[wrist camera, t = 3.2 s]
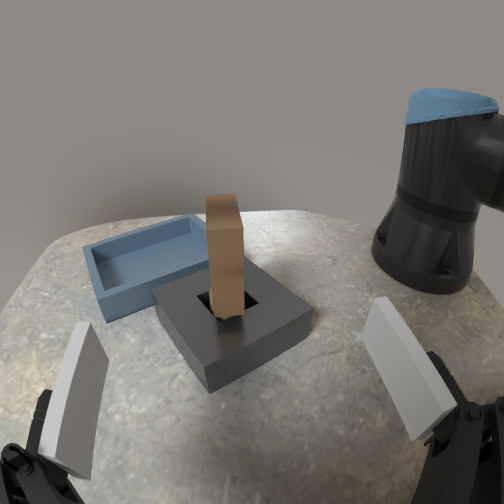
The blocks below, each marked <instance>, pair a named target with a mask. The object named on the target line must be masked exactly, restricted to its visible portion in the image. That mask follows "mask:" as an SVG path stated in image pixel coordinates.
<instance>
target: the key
mask: <svg viewBox="0 0 504 504" xmlns="http://www.w3.org/2000/svg"><path fill="white" fill-rule="evenodd" d="M206 235H207V247H208V259H209V270H210V280H211V287H210V289H209V296H210V305H211V314H212V315H213V316H214V317H215V318H216V319H217V320H218V322H221V321H223V320H225V319H227V318H229V317H231V316H235V315H245V311H244V240H243V224H242V220H241V217H240V213H239V209H238V205H237V201H236V198H235V194H219V195H218V194H217V195H206Z"/></svg>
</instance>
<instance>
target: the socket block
mask: <svg viewBox="0 0 504 504" xmlns="http://www.w3.org/2000/svg"><path fill="white" fill-rule="evenodd" d="M210 287H211V280H210V270H209V268H206V269H204V270H201V271H198V272H196V273H193V274H190V275H188V276H185V277H182V278H180V279H177V280H174V281H172V282H169V283H166V284H164V285H161V286H158V287H156V288H153V289H150V290H151V294H152V298H153V302H154V306H155V309H156V313H157V317H158V319H159V321H160V322H161V324H162V325H163V327H164V329H165V330H166V332H167V333H168V335H169V336H170V338H171V339H172V341H173V343H174V344H175V346H176V347H177V349H178V350H179V352H180V353H181V355H182V356H183V358H184V359H185V360H186V362H187V363H188V365H189V366H190V368H191V369H192V371H193V372H194V373H195V375H196V376H197V378H198V379H199V380H200V382H201V383H202V384H203V386H204V387H205V389H206V390H207V391H208V393H209V394H210V393H212V392H214V391H216V390H218V389H220V388H222V387H223V386H225V385H227V384H229V383H231V382H233V381H235V380H236V379H238V378H240V377H242V376H244V375H245V374H247V373H249V372H251V371H253V370H254V369H256V368H258V367H259V366H261V365H263V364H265V363H266V362H268V361H270V360H271V359H273V358H275V357H276V356H278V355H280V354H281V353H283V352H285V351H286V350H288V349H289V348H291V347H293V346H294V345H296V344H297V343H299V342H301V341H302V340H304V339H305V338H307V337H308V333H309V328H310V323H311V317H312V312H313V307H311V306H310V305H309V304H307V303H306V302H305V301H303V300H302V299H300V298H299V297H298V296H296V295H295V294H294V293H292V292H291V291H290V290H288V289H287V288H286V287H284V286H283V285H282V284H280V283H279V282H278V281H276V280H275V279H274V278H272V277H271V276H270V275H268V274H267V273H266V272H264V271H263V270H262V269H260V268H259V267H258V266H257V265H255V264H254V263H253V262H251V261H250V260H249V259H247V258H246V257H245V256H244V311H245V315H235V316H231V317H229V318H227V319H225V320H223V321H221V322H218V320H217V319H216V318H215V317H214V316H213V315H212V314H211V305H210V296H209V289H210Z"/></svg>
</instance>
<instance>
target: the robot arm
mask: <svg viewBox="0 0 504 504" xmlns="http://www.w3.org/2000/svg"><path fill="white" fill-rule="evenodd" d="M498 111H499V107H498V103H497V101H496V100H494V99H493V98H490V97H486V96H483V95H480V94H477V93H471V92H466V91H461V90H454V89H445V88H421V89H417V90H415V91H414V92H413V93H412V94H411V95H410V98H409V103H408V110H407V117H406V121H405V122H404V125H406V130H405V139H404V147H403V154H402V161H401V167H400V173H399V179H398V185H397V190H396V195H395V198H394V201H393V202H392V204H391V206H390V208H389V209H388V211H387V213H386V215H385V216H384V218H383V220H382V221H381V223H380V225H379V227H378V228H377V230H376V232H375V235H374V239H373V244H372V255H373V257H374V259H375V261H376V262H377V264H378V265H379V266H380V267H381V268H382V269H383V270H384V271H385V272H386V273H387V274H389V275H390V276H392V277H393V278H395V279H396V280H398V281H400V282H401V283H403V284H405V285H408V286H410V287H412V288H415V289H418V290H421V291H425V292H429V293H435V294H449V293H454V292H457V291H459V290H461V289H462V288H463V287H464V286H465V285H466V283H467V281H468V279H469V276H470V274H471V271H472V268H473V257H474V240H475V238H474V237H475V224H476V220H477V217H478V213H479V210H480V207H481V205H486V206H489V207H491V208H494V209H496V210H499V211H501V212H503V213H504V115H501V114H499V113H498ZM360 338H361V340H362V342H363V344H364V345H365V347H366V349H367V351H368V353H369V355H370V357H371V359H372V361H373V363H374V364H375V366H376V368H377V370H378V372H379V374H380V376H381V378H382V380H383V382H384V384H385V386H386V388H387V390H388V392H389V394H390V396H391V398H392V400H393V402H394V404H395V406H396V408H397V411H398V413H399V415H400V417H401V419H402V421H403V423H404V425H405V427H406V430H407V432H408V434H409V436H410V438H411V441H412V442H414V441H416V440H418V439H420V438H423V437H425V436H426V435H427V434H428V433H430V432H431V431H433V433H434V434H433V435H432V436H431V437H430V438H429V439H428V440H427V441H426V442H425V444H424V446H426V445H427V444H428V443H430V442H431V443H430V445H429V446H428V447H429V450H428V454H427V458H426V461H425V464H424V468H423V471H422V474H421V477H420V480H419V483H418V486H417V489H416V492H415V494H414V497H413V500H412V502H411V504H504V397H503V396H502V397H499V398H498V399H497V400H496V401H495V402H494V403H493V404H488V405H482V406H479V405H478V404H477V403H475V402H469V401H468V400H467V399H466V398H465V396H464V395H463V393H462V391H461V390H460V388H459V386H458V385H457V383H456V381H455V380H454V378H453V377H452V375H450V372H449V370H448V369H447V368H446V366H445V364H444V363H443V361H442V360H441V358H440V357H439V356H437V355H436V354H435V353H434V352H433V351H430V352H427V353H426V352H425V351H424V349H423V348H422V346H421V345H420V343H419V342H418V340H417V339H416V337H415V336H414V334H413V333H412V331H411V330H410V328H409V327H408V326H407V324H406V323H405V321H404V320H403V318H402V317H401V315H400V314H399V313H398V311H397V310H396V308H395V307H394V306H393V304H392V303H391V301H390V300H389V299H388V297H387V296H385V297H379V298H374V299H373V302H372V305H371V308H370V311H369V314H368V317H367V320H366V323H365V326H364V329H363V331H362V334H361V337H360ZM108 364H109V359H108V357H107V355H106V353H105V351H104V349H103V347H102V345H101V343H100V341H99V339H98V337H97V335H96V333H95V331H94V329H93V327H92V324H91V322H76V325H75V327H74V330H73V332H72V335H71V338H70V340H69V343H68V346H67V349H66V351H65V354H64V357H63V360H62V363H61V366H60V369H59V372H58V375H57V378H56V382H55V385H54V388H53V390H46V389H45V390H44V391H43V393H42V394H41V396H40V397H39V398H38V402H37V405H36V411H35V412H34V416H33V418H34V419H33V420H32V424H31V428H30V432H29V436H28V440H27V445H26V449H25V450H24V449H23V448H22V447H20V446H19V445H18V444H15V443H10V444H7V445H6V446H5V447H4V448H3V450H2V452H1V460H0V504H85V503H84V502H83V500H82V499H81V497H80V496H79V494H78V493H77V491H76V490H75V488H74V487H73V485H72V483H71V482H70V481H69V479H68V478H67V477H68V474H70V475H72V476H73V477H76V478H80V479H85V480H90V481H91V469H92V459H93V450H94V442H95V435H96V428H97V421H98V415H99V409H100V404H101V398H102V393H103V388H104V383H105V378H106V373H107V368H108ZM490 436H492V441H490Z"/></svg>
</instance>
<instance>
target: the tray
mask: <svg viewBox="0 0 504 504" xmlns="http://www.w3.org/2000/svg"><path fill="white" fill-rule="evenodd" d="M83 251H84V255H85V259H86V263H87V267H88V271H89V274H90V278H91V281H92V285H93V288H94V291H95V295H96V298H97V301H98V303H99V306H100V308H101V311H102V313H103V316H104V318H105V321H106V323H109V322H111V321H114V320H117V319H119V318H122V317H124V316H127V315H130V314H132V313H135V312H137V311H140V310H142V309H145V308H148V307H150V306H153V305H154V302H153V298H152V294H151V290H150V289H153V288H156V287H158V286H161V285H164V284H166V283H169V282H172V281H174V280H177V279H180V278H182V277H185V276H188V275H190V274H193V273H196V272H198V271H201V270H204V269H206V268H209V259H208V247H207V235H206V223H205V222H204V221H202V220H201V219H200V218H198V217H197V216H195V215H194V214H193V213H190V214H187V215H183V216H180V217H176V218H173V219H169V220H166V221H163V222H159V223H156V224H153V225H149V226H146V227H143V228H139V229H136V230H133V231H130V232H127V233H124V234H120V235H117V236H114V237H111V238H108V239H105V240H102V241H99V242H96V243H93V244H90V245H87V246H84V247H83Z"/></svg>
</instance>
